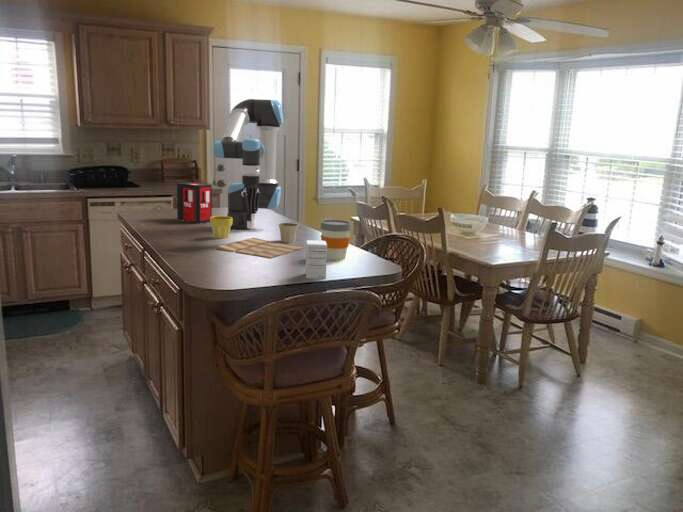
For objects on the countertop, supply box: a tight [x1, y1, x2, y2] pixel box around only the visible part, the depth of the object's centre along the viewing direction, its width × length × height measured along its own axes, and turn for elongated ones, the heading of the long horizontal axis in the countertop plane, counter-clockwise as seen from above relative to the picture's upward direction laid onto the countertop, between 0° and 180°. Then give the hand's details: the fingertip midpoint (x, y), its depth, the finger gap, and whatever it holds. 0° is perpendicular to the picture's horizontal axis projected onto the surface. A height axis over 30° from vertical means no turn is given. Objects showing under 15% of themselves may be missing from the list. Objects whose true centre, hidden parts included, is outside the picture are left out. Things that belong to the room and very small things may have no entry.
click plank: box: [215, 237, 271, 253], centre depth 258 cm, size 26×9×1 cm, turn 152°
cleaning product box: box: [176, 181, 213, 225], centre depth 317 cm, size 16×9×20 cm, turn 58°
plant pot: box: [209, 215, 233, 240], centre depth 275 cm, size 10×10×10 cm
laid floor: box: [234, 241, 306, 259], centre depth 252 cm, size 26×18×1 cm
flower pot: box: [277, 222, 300, 244], centre depth 272 cm, size 9×9×9 cm
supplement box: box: [305, 239, 328, 280], centre depth 214 cm, size 7×7×13 cm
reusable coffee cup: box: [320, 219, 352, 261], centre depth 244 cm, size 13×13×15 cm
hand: (250, 228), depth 263 cm, fingers closed
